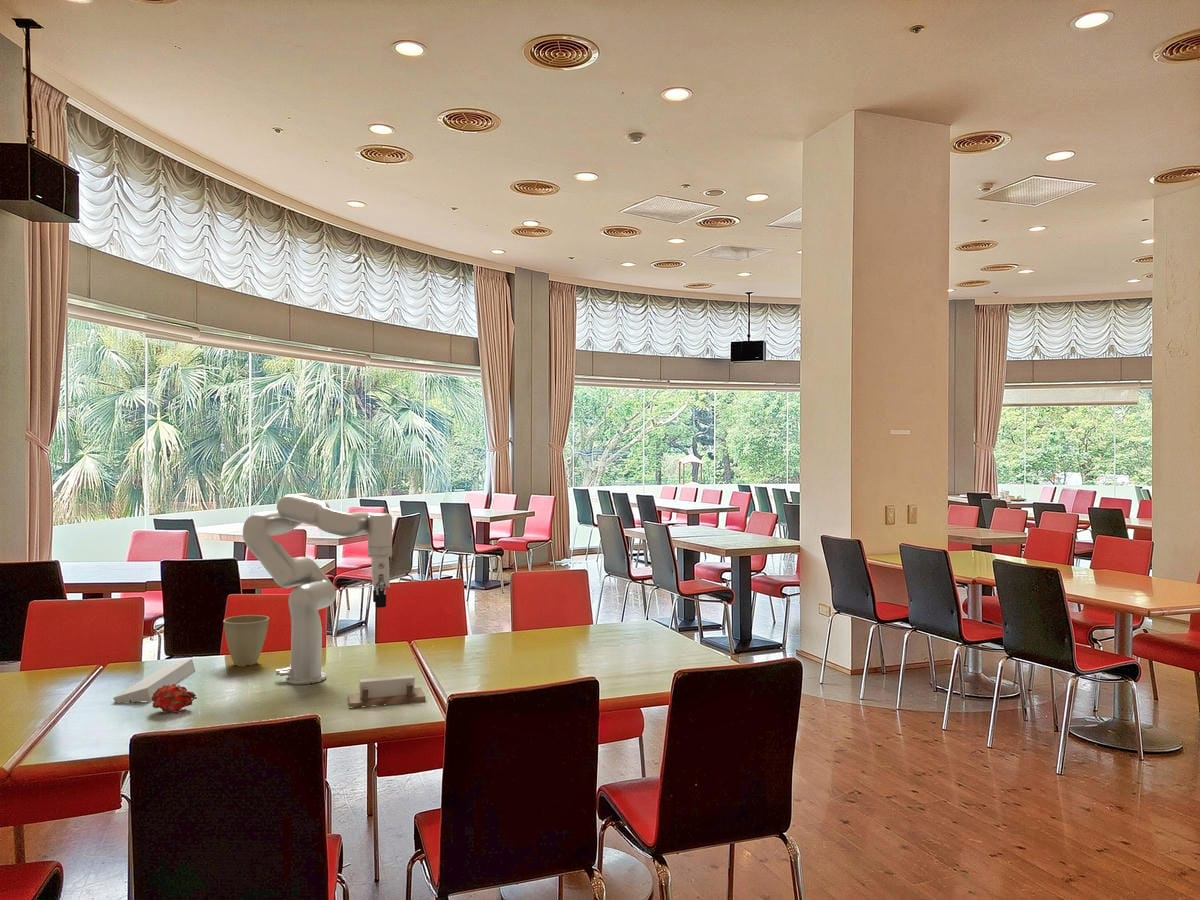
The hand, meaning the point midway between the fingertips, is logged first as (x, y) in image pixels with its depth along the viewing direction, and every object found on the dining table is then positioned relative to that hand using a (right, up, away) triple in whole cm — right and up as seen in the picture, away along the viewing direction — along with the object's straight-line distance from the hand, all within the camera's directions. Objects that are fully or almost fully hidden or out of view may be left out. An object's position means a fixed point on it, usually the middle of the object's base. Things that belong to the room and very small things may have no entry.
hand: (379, 604), depth 259 cm
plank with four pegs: (+6, -26, -15) cm, 31 cm away
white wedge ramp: (-71, -27, -2) cm, 75 cm away
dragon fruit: (-52, -26, -27) cm, 64 cm away
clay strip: (+6, -25, -15) cm, 29 cm away
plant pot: (-54, -26, +26) cm, 66 cm away
